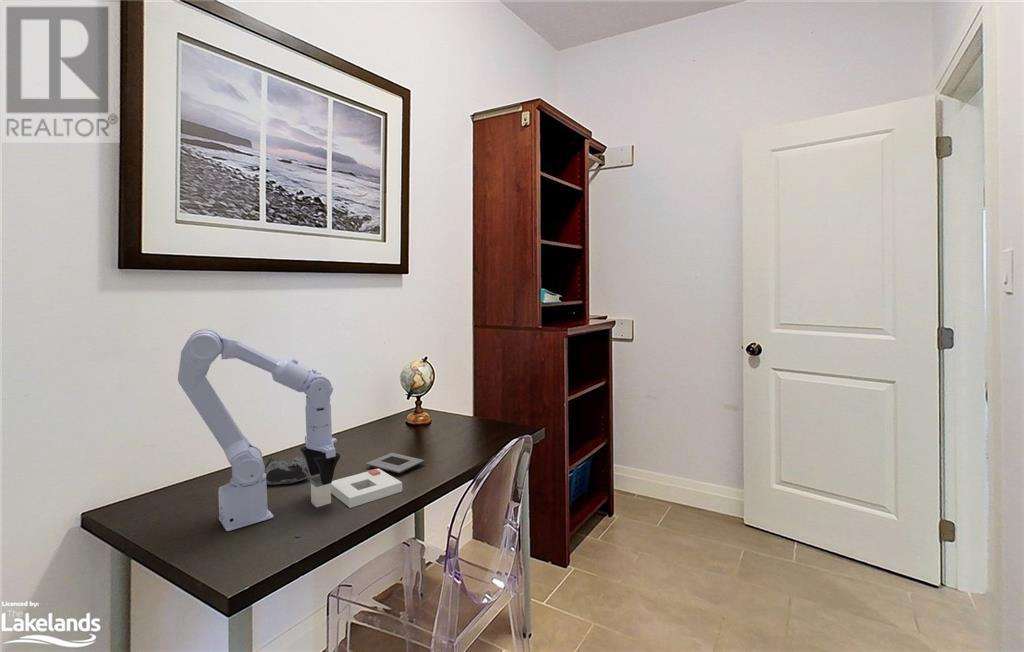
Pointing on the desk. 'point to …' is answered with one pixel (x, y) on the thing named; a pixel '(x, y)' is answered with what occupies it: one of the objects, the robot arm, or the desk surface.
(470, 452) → the desk surface
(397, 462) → the electrical outlet
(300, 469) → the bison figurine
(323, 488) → the plug
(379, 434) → the desk surface
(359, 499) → the socket plate
